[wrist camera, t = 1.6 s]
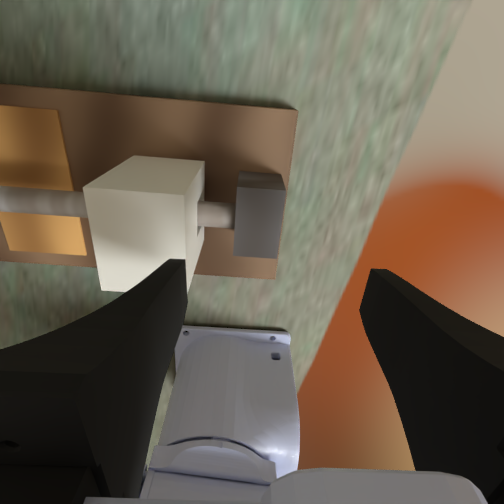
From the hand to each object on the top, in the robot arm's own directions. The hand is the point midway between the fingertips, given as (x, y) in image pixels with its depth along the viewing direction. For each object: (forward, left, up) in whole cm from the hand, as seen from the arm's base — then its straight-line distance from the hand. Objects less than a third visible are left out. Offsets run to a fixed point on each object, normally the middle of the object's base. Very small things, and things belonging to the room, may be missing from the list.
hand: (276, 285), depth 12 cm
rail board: (+10, 0, -10) cm, 14 cm away
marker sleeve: (+6, 0, -8) cm, 10 cm away
